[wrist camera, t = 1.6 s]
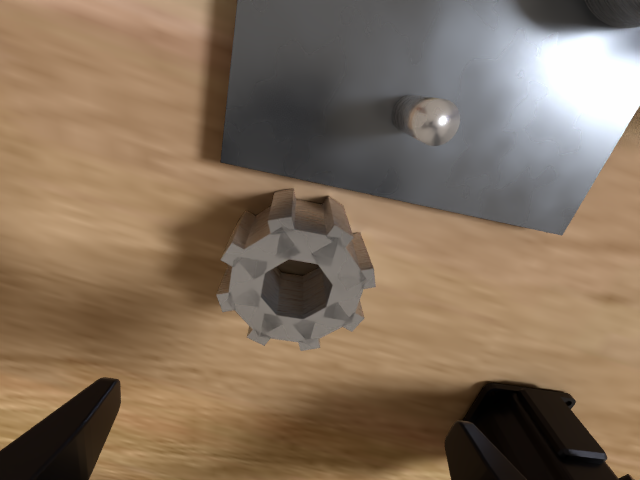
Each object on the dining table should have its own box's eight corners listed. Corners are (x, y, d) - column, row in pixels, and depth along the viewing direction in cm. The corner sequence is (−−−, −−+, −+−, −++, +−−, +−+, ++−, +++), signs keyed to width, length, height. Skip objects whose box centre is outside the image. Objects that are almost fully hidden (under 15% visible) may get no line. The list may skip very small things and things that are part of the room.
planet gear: (341, 310, 19) (350, 357, 16) (227, 292, 18) (211, 338, 15) (375, 205, 16) (393, 236, 13) (242, 177, 15) (227, 204, 12)
